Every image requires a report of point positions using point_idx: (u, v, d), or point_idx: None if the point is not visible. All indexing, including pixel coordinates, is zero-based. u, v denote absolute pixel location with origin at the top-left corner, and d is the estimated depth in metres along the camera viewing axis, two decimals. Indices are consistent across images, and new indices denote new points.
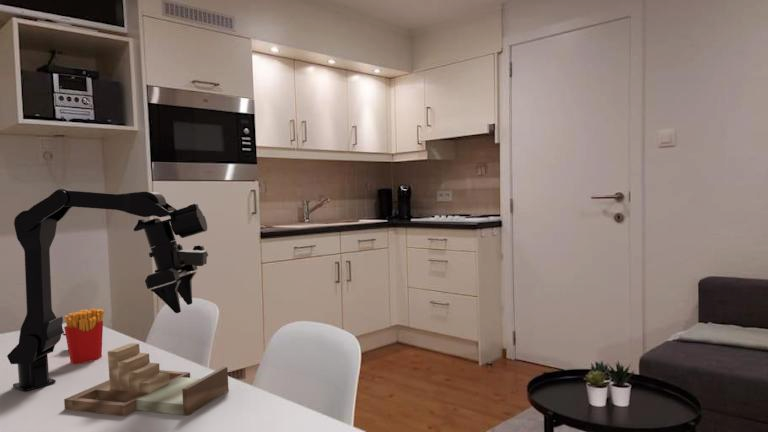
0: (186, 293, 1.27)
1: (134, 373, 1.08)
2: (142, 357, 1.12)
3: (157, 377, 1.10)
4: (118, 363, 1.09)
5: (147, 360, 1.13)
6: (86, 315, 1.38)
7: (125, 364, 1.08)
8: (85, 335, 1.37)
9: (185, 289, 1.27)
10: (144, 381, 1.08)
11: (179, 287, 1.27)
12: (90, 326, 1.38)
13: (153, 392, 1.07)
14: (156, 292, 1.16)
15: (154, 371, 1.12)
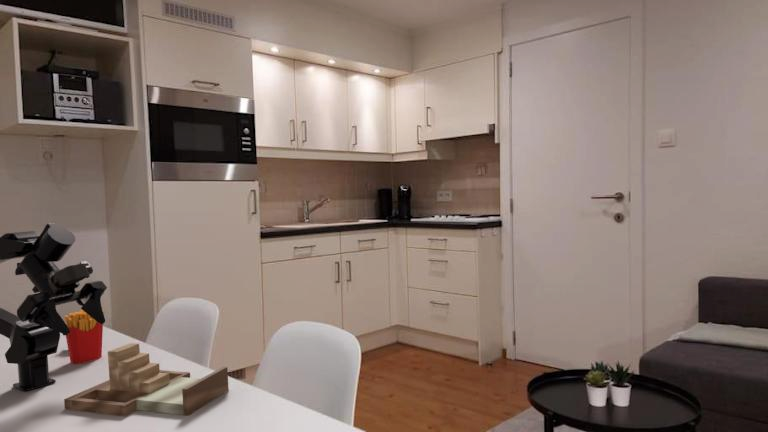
0: (96, 313, 1.20)
1: (134, 373, 1.08)
2: (142, 357, 1.12)
3: (157, 377, 1.10)
4: (118, 363, 1.09)
5: (147, 360, 1.13)
6: (86, 315, 1.38)
7: (125, 364, 1.08)
8: (85, 335, 1.37)
9: (94, 310, 1.20)
10: (144, 381, 1.08)
11: (89, 311, 1.21)
12: (90, 326, 1.38)
13: (153, 392, 1.07)
14: (37, 322, 1.10)
15: (154, 371, 1.12)
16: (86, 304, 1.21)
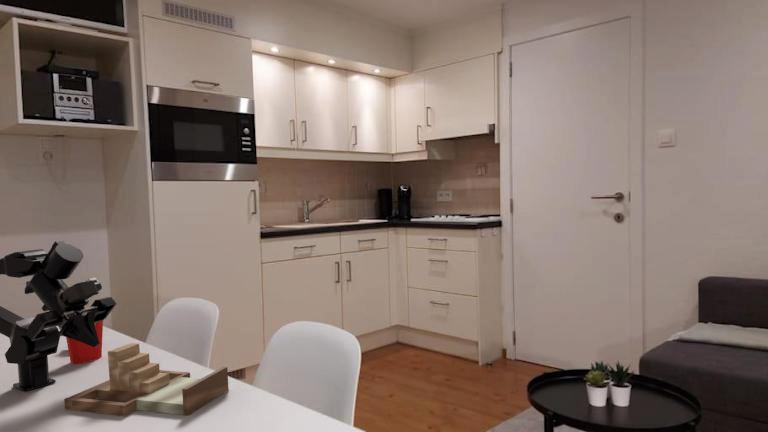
0: None
1: (134, 373, 1.08)
2: (142, 357, 1.12)
3: (157, 377, 1.10)
4: (118, 363, 1.09)
5: (147, 360, 1.13)
6: None
7: (125, 364, 1.08)
8: None
9: None
10: (144, 381, 1.08)
11: None
12: None
13: (153, 392, 1.07)
14: (66, 335, 1.14)
15: (154, 371, 1.12)
16: None
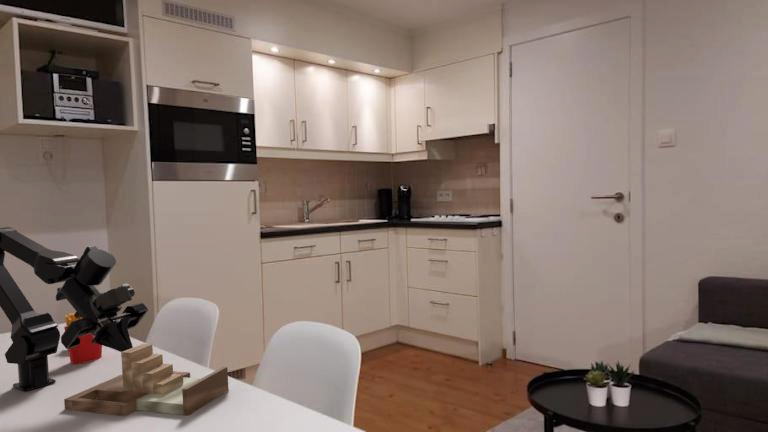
0: None
1: (148, 374, 1.07)
2: (155, 358, 1.11)
3: (171, 378, 1.09)
4: (131, 364, 1.08)
5: (160, 361, 1.12)
6: None
7: (138, 365, 1.07)
8: (85, 335, 1.37)
9: None
10: (158, 382, 1.07)
11: None
12: None
13: None
14: (99, 343, 1.11)
15: (168, 372, 1.11)
16: None
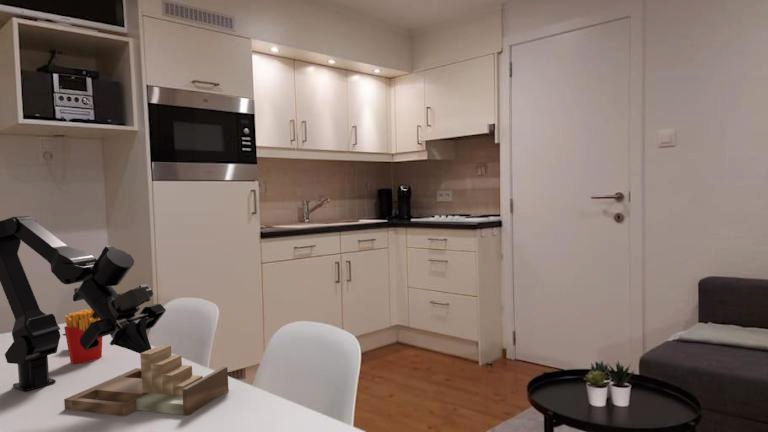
0: None
1: (168, 375, 1.05)
2: (175, 359, 1.09)
3: (191, 380, 1.08)
4: (151, 366, 1.06)
5: (179, 362, 1.11)
6: (86, 315, 1.38)
7: (158, 367, 1.06)
8: None
9: None
10: (178, 384, 1.05)
11: None
12: None
13: None
14: (118, 344, 1.10)
15: (187, 373, 1.09)
16: None
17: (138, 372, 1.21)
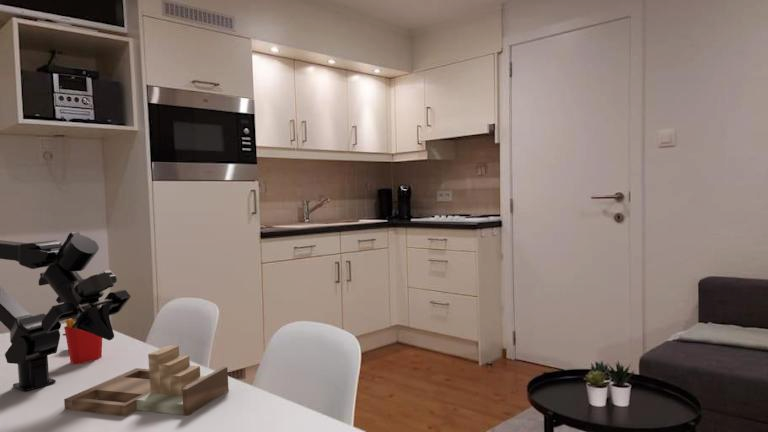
0: None
1: (176, 376, 1.05)
2: (183, 360, 1.09)
3: None
4: (159, 366, 1.06)
5: (187, 363, 1.10)
6: None
7: (166, 367, 1.05)
8: (85, 335, 1.37)
9: None
10: (186, 385, 1.05)
11: None
12: None
13: None
14: (80, 328, 1.12)
15: (195, 374, 1.09)
16: None
17: (138, 372, 1.21)
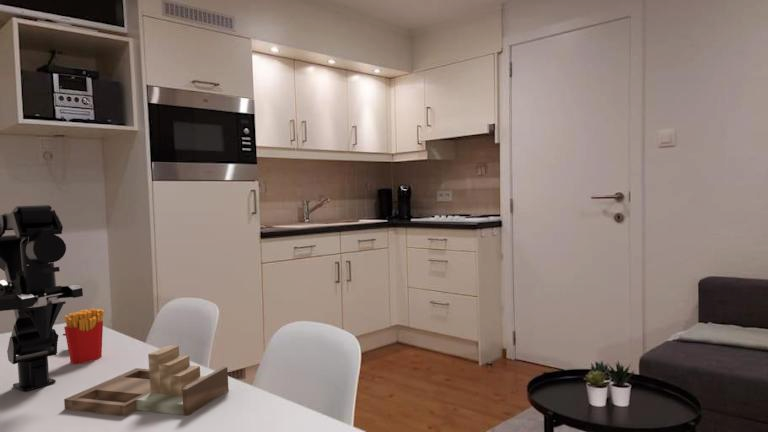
0: None
1: (176, 376, 1.05)
2: (183, 360, 1.09)
3: None
4: (159, 366, 1.06)
5: (187, 363, 1.10)
6: (86, 315, 1.38)
7: (166, 367, 1.05)
8: (85, 335, 1.37)
9: None
10: (186, 385, 1.05)
11: None
12: (90, 326, 1.38)
13: None
14: None
15: (195, 374, 1.09)
16: None
17: (138, 372, 1.21)
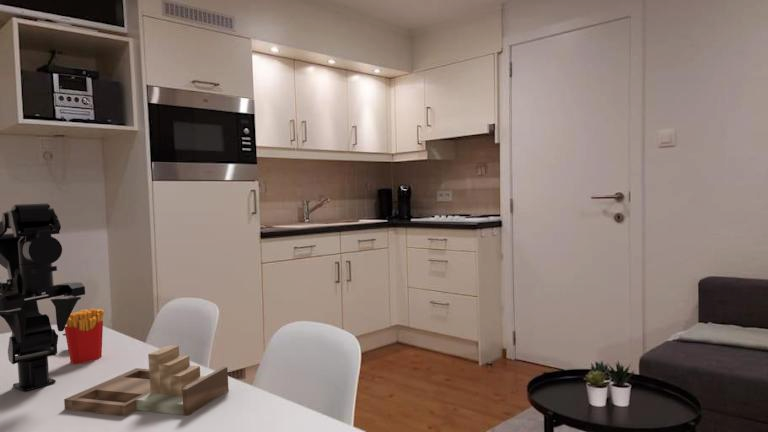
0: None
1: (176, 376, 1.05)
2: (183, 360, 1.09)
3: None
4: (159, 366, 1.06)
5: (187, 363, 1.10)
6: (86, 315, 1.38)
7: (166, 367, 1.05)
8: (85, 335, 1.37)
9: None
10: (186, 385, 1.05)
11: None
12: (90, 326, 1.38)
13: None
14: None
15: (195, 374, 1.09)
16: None
17: (138, 372, 1.21)
